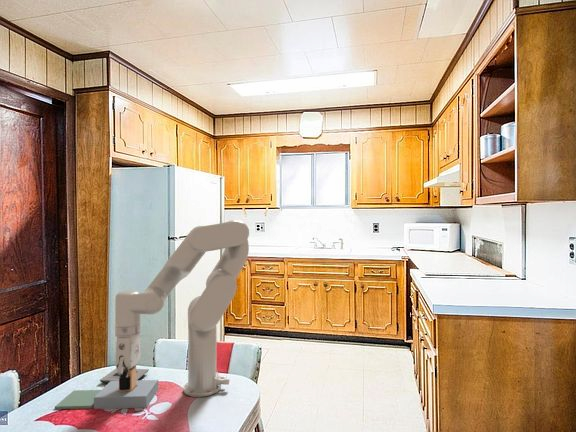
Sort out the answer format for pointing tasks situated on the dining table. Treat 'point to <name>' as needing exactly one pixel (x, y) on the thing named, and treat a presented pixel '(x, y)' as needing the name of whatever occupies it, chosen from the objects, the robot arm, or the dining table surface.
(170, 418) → the dining table surface
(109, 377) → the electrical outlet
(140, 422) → the dining table surface
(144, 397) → the grey socket block
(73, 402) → the mat
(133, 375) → the plug
